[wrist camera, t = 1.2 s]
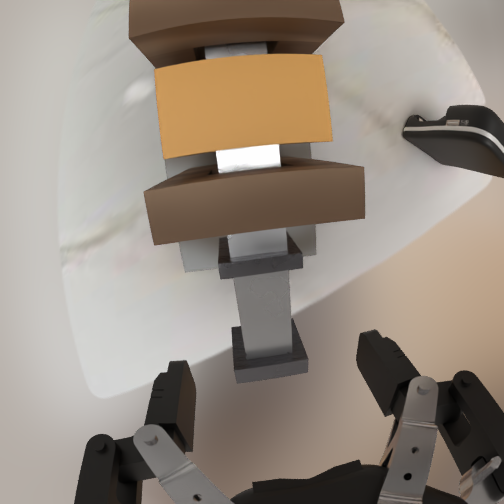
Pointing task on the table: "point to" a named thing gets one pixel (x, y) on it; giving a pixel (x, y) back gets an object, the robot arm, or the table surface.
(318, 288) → the table surface
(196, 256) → the stand
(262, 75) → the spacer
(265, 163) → the shaft
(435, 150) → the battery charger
